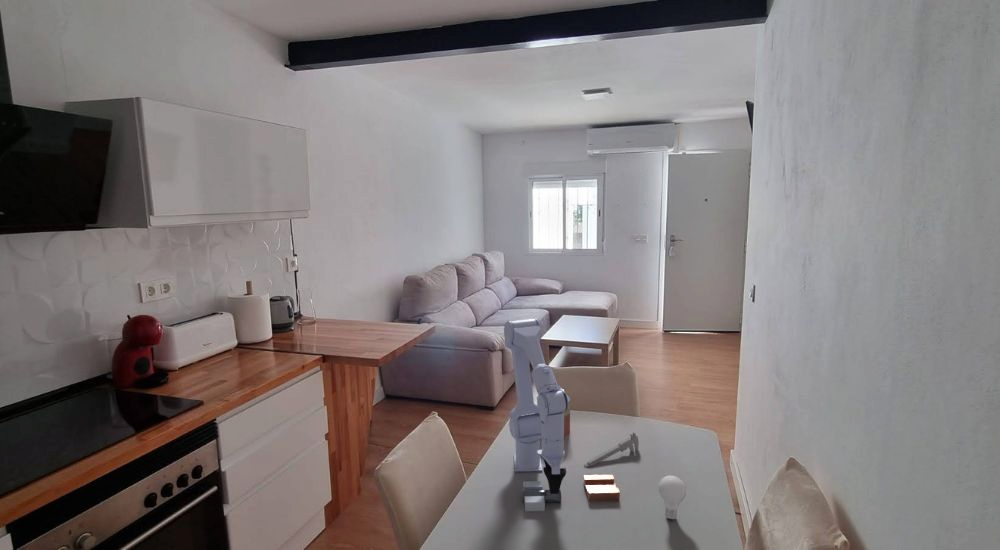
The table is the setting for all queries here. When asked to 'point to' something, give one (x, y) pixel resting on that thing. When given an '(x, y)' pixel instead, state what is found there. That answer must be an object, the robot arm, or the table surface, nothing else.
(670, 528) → the table surface
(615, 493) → the v block
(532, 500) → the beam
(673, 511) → the lightbulb
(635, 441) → the caliper
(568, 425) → the canned food
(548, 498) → the axle
